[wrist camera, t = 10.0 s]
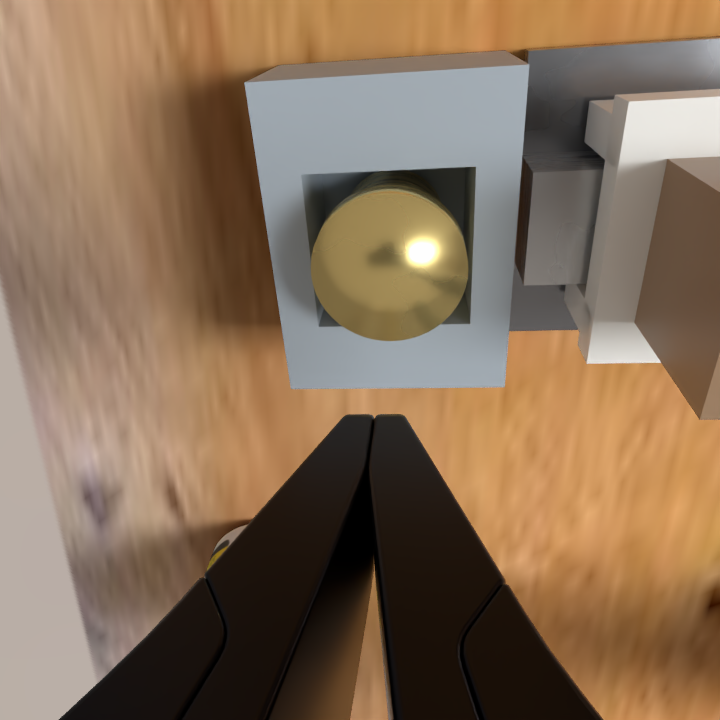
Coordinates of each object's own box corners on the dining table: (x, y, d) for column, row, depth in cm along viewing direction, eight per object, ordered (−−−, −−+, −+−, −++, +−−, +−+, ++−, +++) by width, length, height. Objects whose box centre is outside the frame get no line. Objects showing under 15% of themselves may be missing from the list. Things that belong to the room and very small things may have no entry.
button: (459, 150, 16) (471, 190, 12) (456, 276, 17) (466, 339, 14) (324, 157, 16) (302, 197, 13) (336, 279, 18) (319, 342, 15)
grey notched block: (504, 50, 15) (529, 64, 12) (489, 322, 19) (504, 387, 16) (279, 65, 16) (244, 82, 13) (311, 326, 20) (291, 388, 17)
